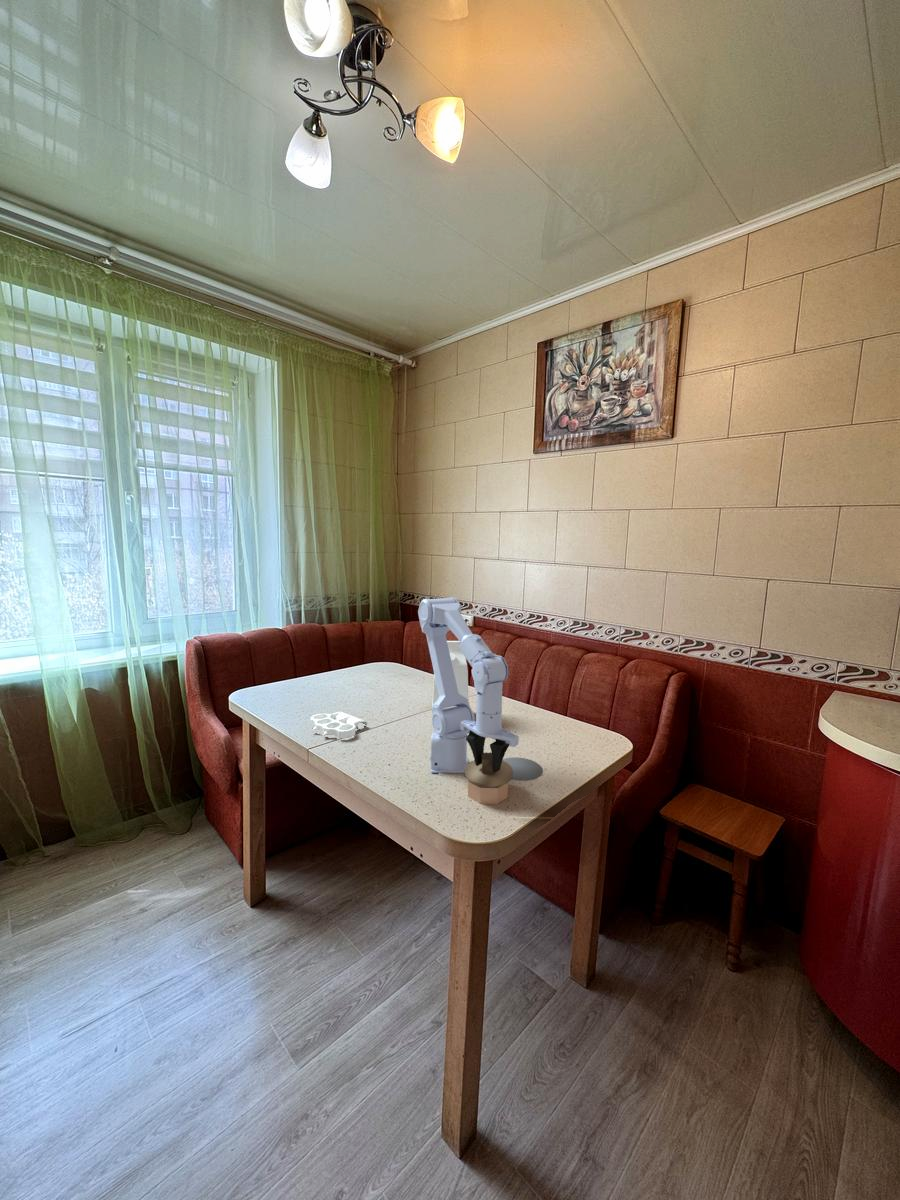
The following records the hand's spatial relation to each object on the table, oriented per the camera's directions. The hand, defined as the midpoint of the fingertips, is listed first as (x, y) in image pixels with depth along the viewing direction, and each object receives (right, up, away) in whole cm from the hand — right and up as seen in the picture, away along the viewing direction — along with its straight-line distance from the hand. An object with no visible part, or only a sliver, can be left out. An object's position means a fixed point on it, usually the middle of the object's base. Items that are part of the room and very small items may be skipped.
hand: (487, 767), depth 103 cm
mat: (+9, -5, +12) cm, 16 cm away
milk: (-9, -1, +47) cm, 47 cm away
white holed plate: (-44, -2, +36) cm, 57 cm away
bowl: (0, -6, +1) cm, 6 cm away
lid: (0, -2, +1) cm, 2 cm away
